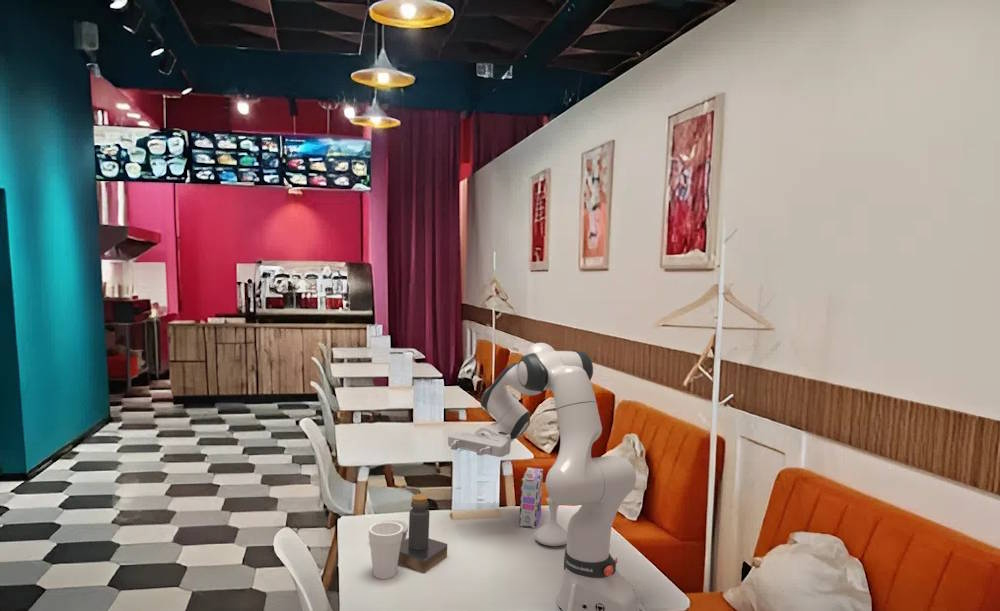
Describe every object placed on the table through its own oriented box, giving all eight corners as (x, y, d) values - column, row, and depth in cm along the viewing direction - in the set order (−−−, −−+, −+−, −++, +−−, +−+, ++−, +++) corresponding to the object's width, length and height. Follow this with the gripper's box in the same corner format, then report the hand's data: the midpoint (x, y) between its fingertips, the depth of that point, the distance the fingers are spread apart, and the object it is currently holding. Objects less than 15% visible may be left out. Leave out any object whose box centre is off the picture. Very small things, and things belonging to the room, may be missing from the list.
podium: (446, 556, 191) (447, 543, 191) (423, 573, 180) (424, 559, 180) (414, 546, 196) (414, 534, 196) (389, 562, 186) (390, 548, 186)
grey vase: (568, 551, 198) (572, 472, 196) (532, 547, 199) (535, 469, 198) (570, 534, 211) (574, 460, 209) (536, 530, 212) (539, 457, 211)
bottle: (404, 547, 187) (406, 497, 186) (415, 540, 192) (417, 491, 191) (421, 552, 184) (422, 501, 183) (432, 544, 190) (433, 495, 188)
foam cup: (368, 583, 174) (370, 536, 173) (366, 567, 182) (367, 523, 182) (403, 579, 176) (405, 534, 175) (399, 564, 185) (401, 520, 184)
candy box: (535, 529, 214) (538, 481, 212) (518, 526, 215) (520, 479, 214) (541, 513, 227) (543, 468, 226) (525, 511, 228) (527, 466, 227)
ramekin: (374, 535, 204) (374, 519, 203) (409, 535, 204) (409, 519, 204) (368, 551, 193) (368, 534, 192) (405, 551, 193) (406, 534, 193)
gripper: (461, 425, 215) (438, 434, 203) (514, 435, 205) (494, 445, 193) (460, 443, 215) (437, 453, 203) (514, 454, 206) (493, 466, 194)
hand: (465, 449), depth 198 cm, fingers open, 8 cm apart
